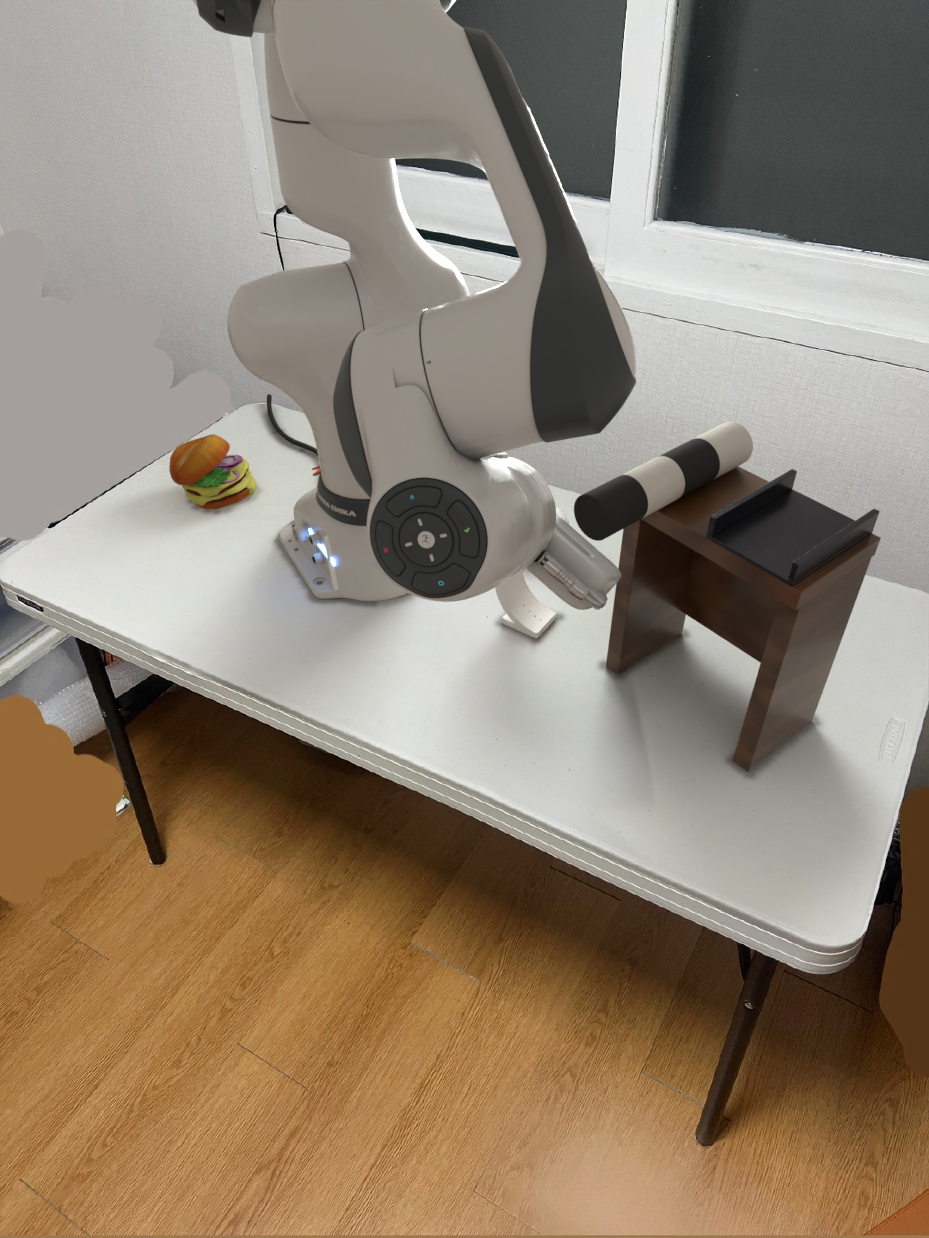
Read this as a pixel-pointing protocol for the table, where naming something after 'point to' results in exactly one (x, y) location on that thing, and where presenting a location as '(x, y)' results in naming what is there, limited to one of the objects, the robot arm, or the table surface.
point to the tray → (786, 530)
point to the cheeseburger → (211, 473)
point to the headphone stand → (523, 607)
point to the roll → (661, 480)
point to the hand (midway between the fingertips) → (530, 504)
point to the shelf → (734, 609)
